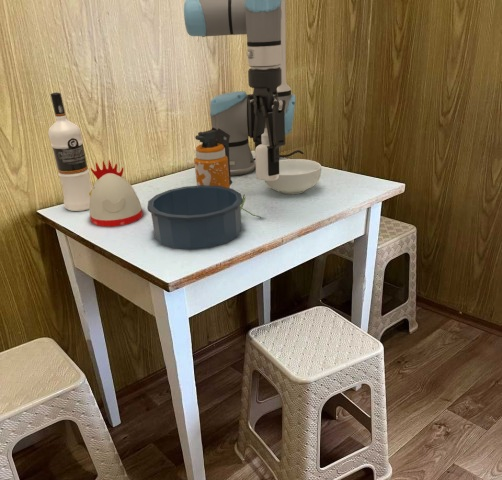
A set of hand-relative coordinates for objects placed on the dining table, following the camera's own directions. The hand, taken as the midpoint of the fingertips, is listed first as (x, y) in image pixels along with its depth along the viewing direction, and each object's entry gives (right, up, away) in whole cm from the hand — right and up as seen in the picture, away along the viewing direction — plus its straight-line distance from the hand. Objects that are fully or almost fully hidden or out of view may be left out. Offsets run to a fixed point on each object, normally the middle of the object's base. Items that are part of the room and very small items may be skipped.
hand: (267, 171), depth 128 cm
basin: (-17, -15, +1) cm, 23 cm away
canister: (-14, -4, +18) cm, 23 cm away
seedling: (-2, -10, +7) cm, 12 cm away
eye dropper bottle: (0, -2, +1) cm, 2 cm away
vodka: (-53, -4, +21) cm, 57 cm away
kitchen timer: (-40, -9, +12) cm, 43 cm away
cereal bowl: (+8, +2, +24) cm, 26 cm away
